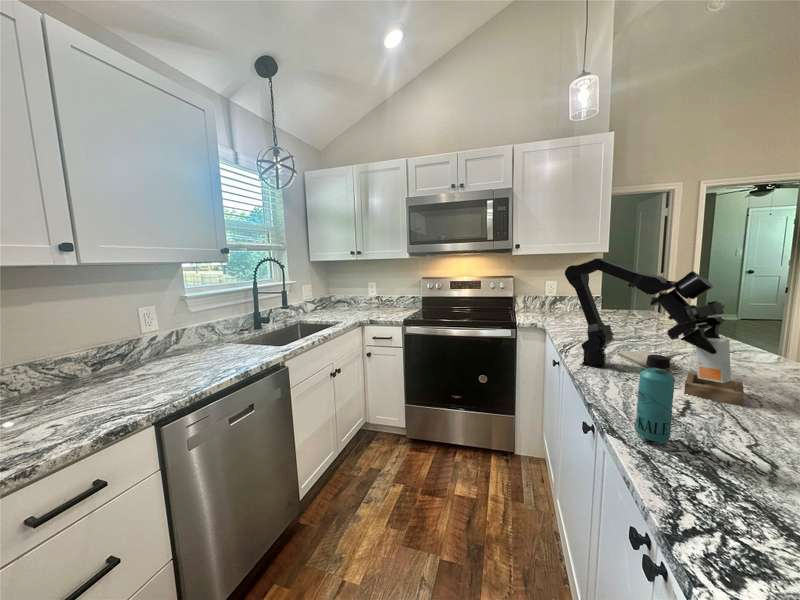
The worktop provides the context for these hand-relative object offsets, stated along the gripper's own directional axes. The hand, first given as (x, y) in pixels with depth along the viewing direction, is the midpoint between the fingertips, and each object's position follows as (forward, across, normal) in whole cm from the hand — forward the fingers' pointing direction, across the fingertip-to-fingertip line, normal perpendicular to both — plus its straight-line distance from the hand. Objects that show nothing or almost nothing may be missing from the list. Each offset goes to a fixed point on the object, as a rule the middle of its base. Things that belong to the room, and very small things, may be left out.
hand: (719, 352), depth 92 cm
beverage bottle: (+14, -40, +5) cm, 42 cm away
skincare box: (+6, 0, +6) cm, 9 cm away
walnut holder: (+8, +2, +10) cm, 14 cm away
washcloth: (-9, +14, +30) cm, 34 cm away
